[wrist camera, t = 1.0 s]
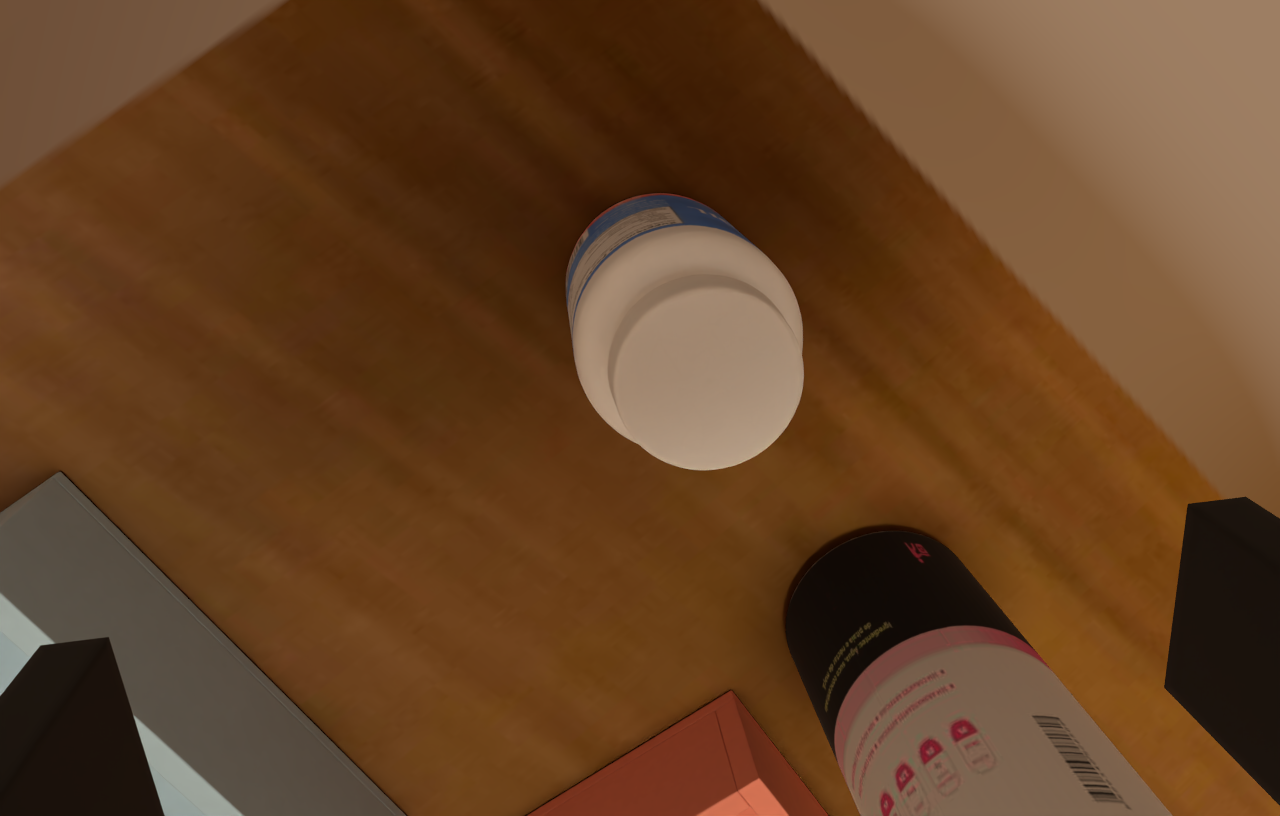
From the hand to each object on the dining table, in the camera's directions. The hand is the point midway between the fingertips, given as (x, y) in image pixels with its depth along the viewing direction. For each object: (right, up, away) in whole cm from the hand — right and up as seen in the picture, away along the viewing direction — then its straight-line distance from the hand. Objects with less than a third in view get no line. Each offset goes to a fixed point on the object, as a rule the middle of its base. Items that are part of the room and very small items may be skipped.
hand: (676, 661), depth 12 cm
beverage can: (+8, -4, +22) cm, 24 cm away
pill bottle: (0, +7, +18) cm, 19 cm away
